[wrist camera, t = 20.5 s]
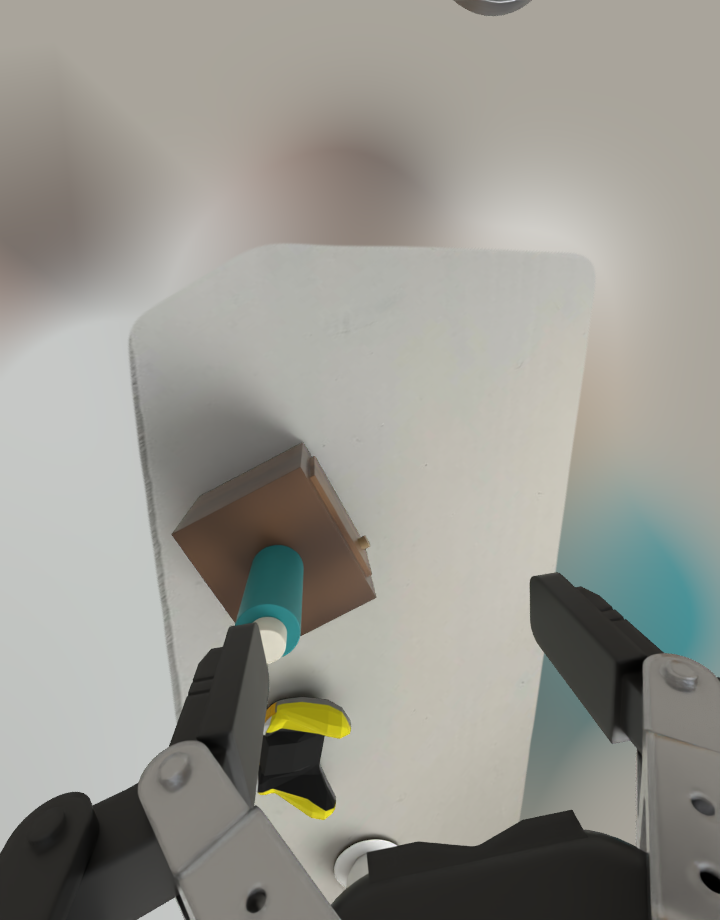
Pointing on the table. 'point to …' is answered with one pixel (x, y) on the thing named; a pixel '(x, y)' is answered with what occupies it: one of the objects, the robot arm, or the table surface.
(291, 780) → the multicoloured piece
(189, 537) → the storage box
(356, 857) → the teacup
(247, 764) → the robot arm
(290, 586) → the water bottle
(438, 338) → the table surface
